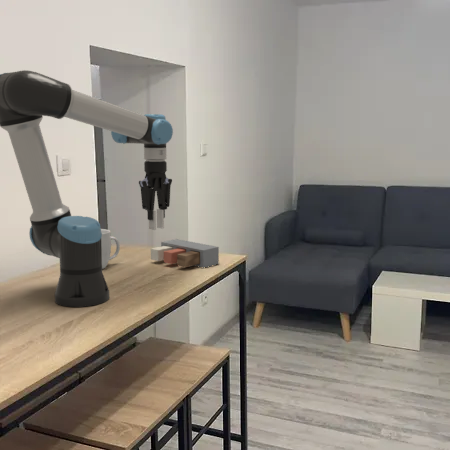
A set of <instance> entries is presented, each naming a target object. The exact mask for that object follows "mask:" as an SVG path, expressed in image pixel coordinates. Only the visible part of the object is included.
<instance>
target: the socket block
mask: <svg viewBox="0 0 450 450" xmlns="http://www.w3.org/2000/svg"><path fill="white" fill-rule="evenodd" d="M160 245H161V246H166V245H168V246H173V249H178V248H183V249H186V252H190V251H198V252H200V264H197V265H194V266H193V267H195V266H199V267H198V268H200V267H203V268H202V269H205V268H204V267H207V268H209V267H208V266H210V267H213V266H212V265H214V266H217V265H216V264H218V265H219V261H220V260H219V258H220V257H219V255H220V254H219V251H220V250H219V249H220V247H219V246H215V245H210V244H206V243H205V244H204V243H199V242H195V241H190V240H189V241H188V240H184V239H180V238H179V239H178V238H174V239H170V240H164V241H161V242H160ZM161 246H160V247H161Z"/></svg>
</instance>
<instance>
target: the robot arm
mask: <svg viewBox="0 0 450 450" xmlns="http://www.w3.org/2000/svg"><path fill="white" fill-rule="evenodd" d="M43 117H50V118H53V119H58V120H62V119H64V118H66V119H67V118H68V119H70V120H74V121H77V122H80V123H84V124H87V125H91V126H93V127H97V128H100V129H103V130H107V131H110V134H111V137H112V140H113V142H116V143H117V144H123V145H125V144H143V159H144V160H145V161H144V164H143V165H144V172H145V176H144V178H143V179H142V180H139V181H138V185H139V188H140V197H141V206H142V207H141V208H142V209H143V210H145V211H147V220H148V230H153V231H156V230H157V229H162V230H163V229H164V228H165V220H164V219H165V218H166V211H167V210H168V208H169V207H170V201H171V186H172V182H173V179H172V178H168V177H167V175H166V172H167V171H168V169H167V168H168V166H167V161H166V160H167V143H169V142H170V141H171V140H172V137H173V134H174V132H173V131H174V129H173V125H172V124H171V123H170V121H168V120H167V119H166V116H165V114H160V113H159V114H156V113H155V114H152V113H150V114H149V113H147V114H142V113H140V112H139V113H138V112H136V111H133V110H130V109H128V108H124V107H122V106H119V105H116V104H113V103H110V102H108V101H105V100H102V99H99V98H96V97H93V96H92V95H88V94H85V93H82V92H79V91H77V90H73V88H72V86H71V85H70V83H69V84H68V83H66V82H63V81H61V80H58V79H55V78H52V77H50V76H48V75H45V74H42V73H40V72H36V71H32V70H25V69H24V70H23V69H22V70H17V71H13V72H3V73H0V128H1V129H3V130H5V131H6V132H7V133H8V136H9V139H10V143H11V146H12V148H13V152H14V155H15V158H16V161H17V164H18V168H19V170H20V174H21V178H22V180H23V183H24V187H25V191H26V193H27V196H28V199H29V202H30V205H31V209H32V213H31V214H30V216H29V221H30V224H31V226H30V228H29V233H28V234H29V239H30V242H31V245H32V246H34V247H35V249H36V250H37V251H39V252H40V253H42V254H44V255H47V256H51V257H55V258H58V259H59V276H58V277H59V278H58V281H57V285H56V288H55V291H54V301H55V303H56V304H57V305H60V306H63V307H71V308H72V307H73V308H79V307H80V308H81V307H90V306H91V307H92V306H96V305H100V304H103V303H105V302H107V301H108V300H109V299H110V290H109V287H108V284H107V282H106V278H105V275H104V273H103V269H102V247H101V237H102V233H101V229H102V228H101V224H100V222H99V221H98V220H97V219H95V218H93V217H90V216H82V215H72V213H71V209H70V207H69V206H67V205H65V204H64V203H63V201H62V198H61V194H60V191H59V187H58V185H57V180H56V177H55V174H54V171H53V167H52V165H51V160H50V157H49V155H48V150H47V147H46V143H45V140H44V137H43V132H42V130H41V126H40V124H41V122H42V120H43ZM155 199H157V204H158V205H157V206H158V208H156V210H155V201H156V200H155Z"/></svg>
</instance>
